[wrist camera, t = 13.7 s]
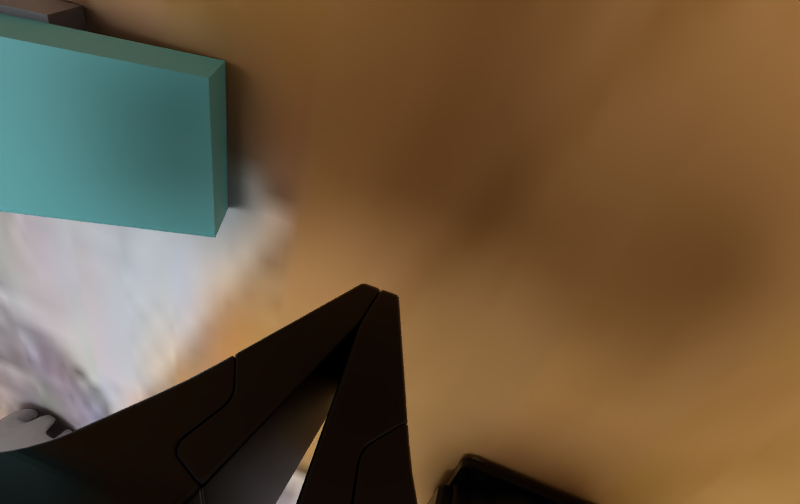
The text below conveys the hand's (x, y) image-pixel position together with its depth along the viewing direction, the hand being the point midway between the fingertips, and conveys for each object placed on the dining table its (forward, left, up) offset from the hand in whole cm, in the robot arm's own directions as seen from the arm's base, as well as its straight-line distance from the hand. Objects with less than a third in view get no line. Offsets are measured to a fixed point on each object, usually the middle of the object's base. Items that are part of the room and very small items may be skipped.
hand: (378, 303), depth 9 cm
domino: (+6, 0, -4) cm, 7 cm away
